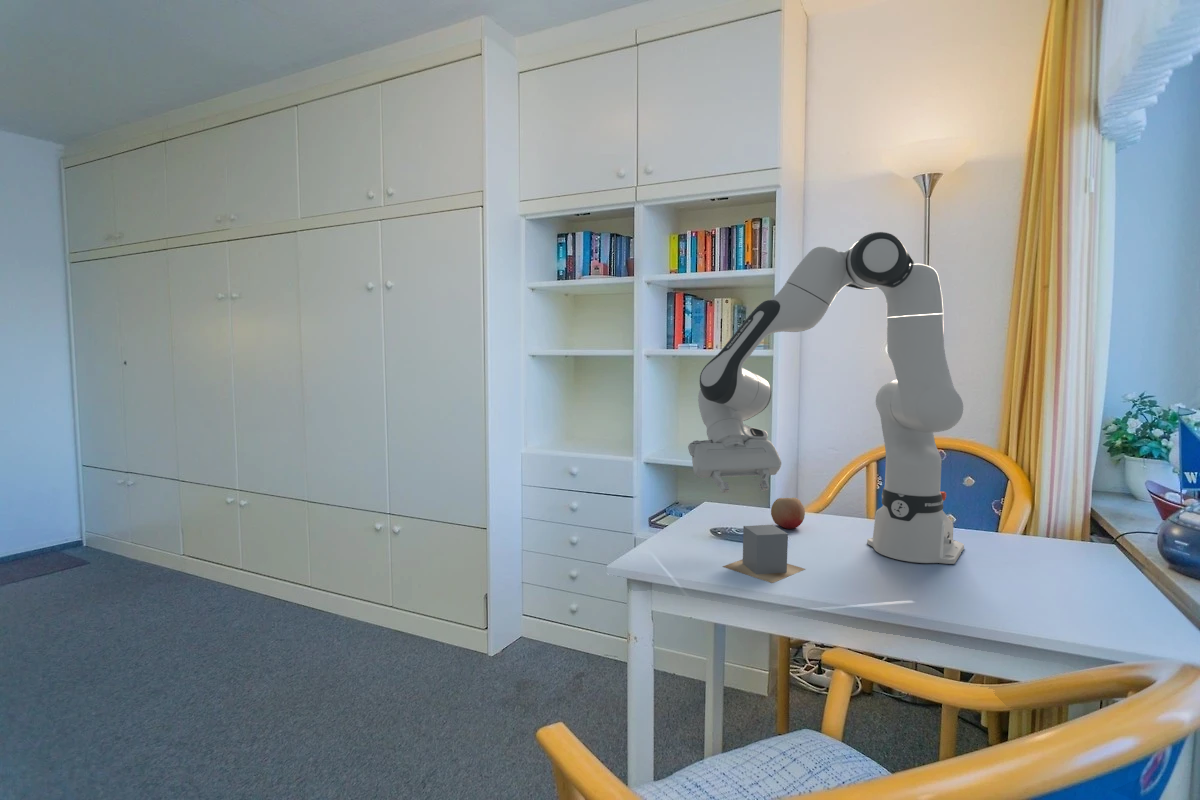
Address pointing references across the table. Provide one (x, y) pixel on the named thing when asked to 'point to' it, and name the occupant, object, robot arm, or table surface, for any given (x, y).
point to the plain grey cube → (765, 549)
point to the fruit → (788, 512)
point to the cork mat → (770, 577)
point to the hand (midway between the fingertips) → (745, 490)
